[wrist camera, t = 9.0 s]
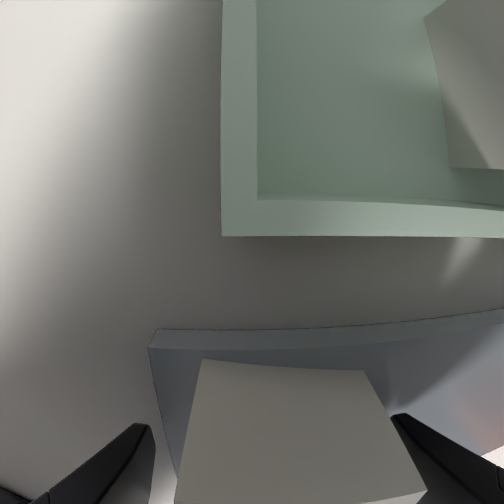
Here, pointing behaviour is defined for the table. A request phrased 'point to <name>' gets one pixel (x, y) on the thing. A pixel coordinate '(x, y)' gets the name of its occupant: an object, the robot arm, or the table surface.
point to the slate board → (359, 358)
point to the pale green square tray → (341, 125)
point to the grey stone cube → (291, 440)
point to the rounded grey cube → (470, 79)
